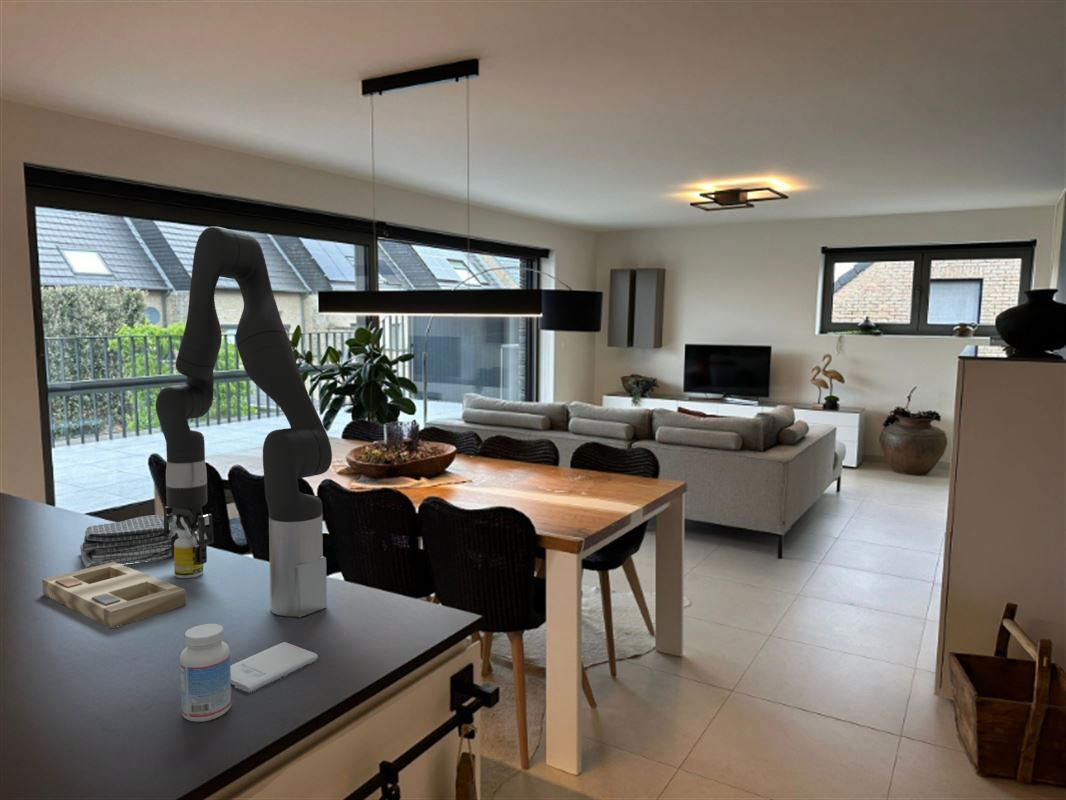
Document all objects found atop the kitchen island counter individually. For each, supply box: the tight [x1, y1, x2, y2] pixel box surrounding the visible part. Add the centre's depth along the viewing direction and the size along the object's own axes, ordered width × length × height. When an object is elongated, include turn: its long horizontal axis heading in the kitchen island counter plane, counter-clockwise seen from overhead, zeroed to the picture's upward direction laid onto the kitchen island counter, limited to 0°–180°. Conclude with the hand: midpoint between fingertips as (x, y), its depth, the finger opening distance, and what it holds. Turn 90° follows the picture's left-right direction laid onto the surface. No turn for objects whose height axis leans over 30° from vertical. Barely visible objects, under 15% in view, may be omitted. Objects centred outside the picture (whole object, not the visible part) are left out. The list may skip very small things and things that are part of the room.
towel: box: [79, 514, 173, 569], centre depth 160 cm, size 15×18×8 cm
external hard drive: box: [230, 641, 319, 691], centre depth 108 cm, size 2×8×12 cm
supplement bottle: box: [173, 528, 204, 579], centre depth 148 cm, size 5×5×10 cm
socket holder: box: [41, 562, 187, 629], centre depth 134 cm, size 26×13×3 cm, turn 56°
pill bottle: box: [179, 623, 233, 723], centre depth 96 cm, size 6×6×11 cm
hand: (188, 559), depth 148 cm, fingers open, 8 cm apart
